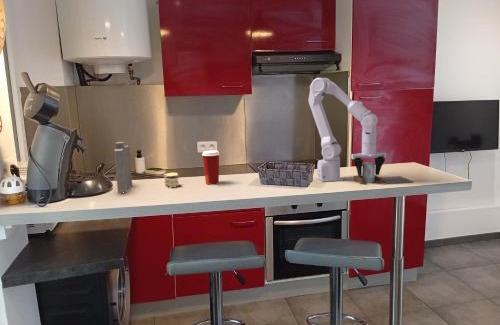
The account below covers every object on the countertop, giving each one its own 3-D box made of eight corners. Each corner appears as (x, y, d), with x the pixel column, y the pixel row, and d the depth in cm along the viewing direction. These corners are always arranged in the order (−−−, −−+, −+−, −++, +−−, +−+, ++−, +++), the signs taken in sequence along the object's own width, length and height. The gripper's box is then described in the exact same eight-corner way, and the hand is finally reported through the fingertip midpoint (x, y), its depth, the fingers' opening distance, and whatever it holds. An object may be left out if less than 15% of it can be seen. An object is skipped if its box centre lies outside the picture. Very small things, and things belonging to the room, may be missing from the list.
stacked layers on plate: (186, 187, 173) (185, 174, 172) (166, 190, 168) (165, 177, 167) (177, 183, 181) (177, 171, 180) (158, 186, 177) (157, 173, 176)
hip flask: (125, 193, 164) (121, 144, 160) (114, 194, 163) (110, 144, 160) (132, 184, 179) (129, 139, 176) (123, 185, 179) (119, 140, 176)
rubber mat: (387, 184, 166) (387, 182, 166) (376, 178, 177) (376, 177, 177) (413, 182, 168) (413, 181, 168) (400, 177, 178) (400, 176, 178)
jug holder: (361, 184, 167) (361, 179, 167) (353, 180, 175) (354, 175, 174) (382, 183, 168) (382, 178, 168) (373, 179, 176) (374, 174, 176)
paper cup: (224, 181, 180) (222, 150, 177) (215, 185, 173) (214, 153, 170) (208, 180, 183) (207, 150, 180) (199, 184, 176) (198, 152, 174)
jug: (367, 184, 166) (367, 165, 165) (360, 181, 173) (360, 162, 172) (378, 184, 167) (379, 164, 165) (371, 180, 174) (371, 162, 172)
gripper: (355, 145, 163) (355, 178, 166) (390, 143, 165) (389, 176, 167) (349, 142, 170) (349, 174, 173) (382, 141, 172) (381, 172, 174)
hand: (368, 175), depth 170 cm, fingers open, 7 cm apart
